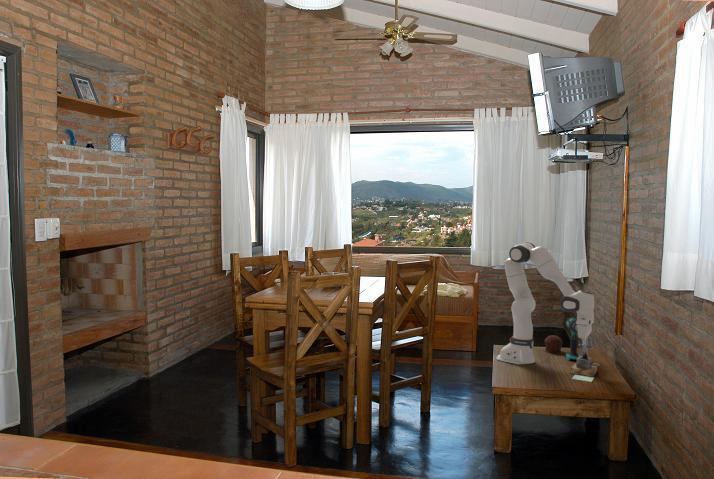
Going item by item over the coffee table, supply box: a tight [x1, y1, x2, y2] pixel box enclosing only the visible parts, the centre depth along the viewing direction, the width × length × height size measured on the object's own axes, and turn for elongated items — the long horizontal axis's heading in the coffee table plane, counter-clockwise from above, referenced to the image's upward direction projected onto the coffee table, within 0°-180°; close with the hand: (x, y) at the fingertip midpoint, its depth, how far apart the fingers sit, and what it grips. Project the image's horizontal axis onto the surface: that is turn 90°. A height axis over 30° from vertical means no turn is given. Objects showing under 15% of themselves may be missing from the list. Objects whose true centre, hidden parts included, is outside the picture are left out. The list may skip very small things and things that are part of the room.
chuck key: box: [577, 338, 593, 358], centre depth 319 cm, size 8×3×10 cm, turn 57°
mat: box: [571, 374, 595, 383], centre depth 308 cm, size 10×8×1 cm
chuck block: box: [570, 355, 600, 378], centre depth 319 cm, size 14×12×8 cm
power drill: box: [564, 317, 582, 361], centre depth 344 cm, size 26×9×25 cm, turn 168°
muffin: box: [543, 334, 564, 354], centre depth 365 cm, size 12×11×10 cm
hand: (584, 343), depth 318 cm, fingers closed on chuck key, 3 cm apart
